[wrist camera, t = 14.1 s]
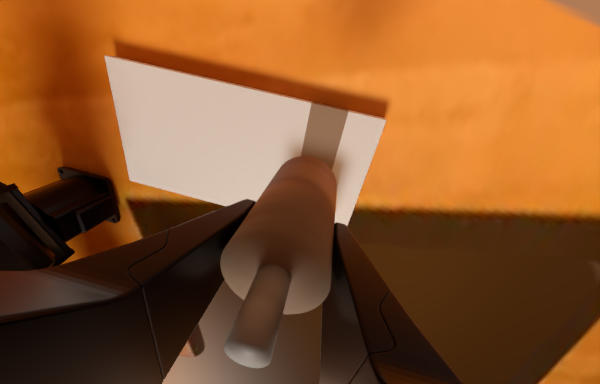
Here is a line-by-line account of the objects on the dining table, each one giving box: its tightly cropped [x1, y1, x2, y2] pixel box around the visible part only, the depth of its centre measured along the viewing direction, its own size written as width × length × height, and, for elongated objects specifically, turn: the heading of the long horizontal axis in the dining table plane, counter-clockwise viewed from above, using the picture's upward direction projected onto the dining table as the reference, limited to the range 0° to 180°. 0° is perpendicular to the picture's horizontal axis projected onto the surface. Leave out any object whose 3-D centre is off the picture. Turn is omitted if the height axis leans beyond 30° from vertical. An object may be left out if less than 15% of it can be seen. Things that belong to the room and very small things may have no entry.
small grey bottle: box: [220, 156, 337, 368], centre depth 8 cm, size 3×3×8 cm
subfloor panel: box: [104, 55, 386, 226], centre depth 22 cm, size 24×12×1 cm, turn 79°
